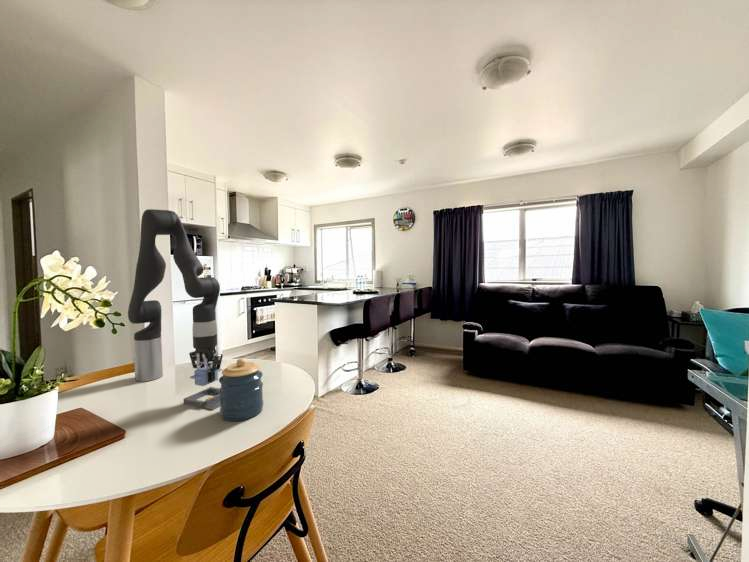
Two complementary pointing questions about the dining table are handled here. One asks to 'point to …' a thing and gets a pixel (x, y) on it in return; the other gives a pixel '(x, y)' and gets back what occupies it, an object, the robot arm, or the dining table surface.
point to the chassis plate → (208, 403)
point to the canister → (241, 391)
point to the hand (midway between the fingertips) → (206, 380)
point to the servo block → (203, 376)
